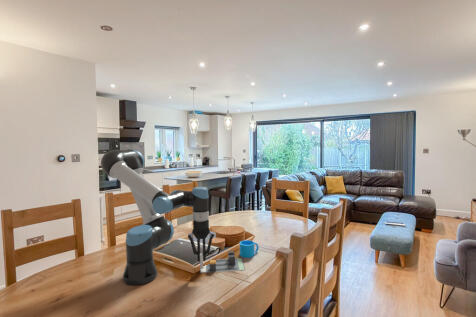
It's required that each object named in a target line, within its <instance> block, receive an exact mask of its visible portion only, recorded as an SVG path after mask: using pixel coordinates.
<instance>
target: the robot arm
mask: <svg viewBox="0 0 476 317" xmlns="http://www.w3.org/2000/svg"><path fill="white" fill-rule="evenodd" d="M144 167H145V158H144V155H143V154H142V153H141V152H140V151H138V150H136V149H113V150H109V151H106V153H105V154H103V156H102V157H101V161H100V168H101V169H102V170H103V172H104V174H106V175H108V177H110V178H112V179H116V180H118V181H119V182H121V183H122V184H124V185H125V186H127V187H128V188H129V189H130V191H131V194H132V196H133V200H134V201H135V204H136V206H137V208H138V211H139V213H140V216H141V217H142V221H143V222H142V224H139V225H136V226H133V227H130V229H128V230H127V232H126V234H125V235H126V236H125V247H126V248H125V251H126V264H125V267H124V271H123V273H122V274H123V275H122V281H123V283H124V284H126V285H130V286H140V285H145V284H149V283H150V282H152V281H154V280H155V279H156V278H157V276H158V269H157V266H156V263H155V262H154V250H156V249H157V248H159V247H161V246H163V245H165V244H167V243H168V242H169V241H170V240H172V238H173V236H174V234H175V233H174V232H175V228H174V224H173V223H172V222H171V221H170V220H168V219H166V217H165V216H164V214H168V213H170V212H173V211H175V210H177V209H180V208H183V207H187V208H188V207H190V208H192V225H193V226H192V227H193V228H192V231H191V232H190V233H188V234H187V238H188V239H189V241H190V244H191V248H192V253H193V255H197V262H199V265H200V266H199V268H200V269H203V261H206V260H207V259H206V258H207V257H206V256H207V254H210V250H211V246H212V243H213V242H212V241H213V238H214V237H215V232H212V231H211V229H210V221H209V218H210V212H209V189H208V187H207V186H206V187H205V186H197V187H196V186H195V187H193V188H192V190H180V189H178V190H176V189H175V190H173V191H171V192H170V193H168V192H165V191H164V190H163V189H161V188H159V187H158V186H157V185H155V184H154V183H152V182H151V181H149V180H148V179H146V178H145V177H144V174H143V172H144V169H145V168H144ZM208 236H209V238H208V243H207V248H206V239H207V237H208ZM194 238H195V239H196V242H197V243H196V244H197V246H196V245H195V240H194ZM201 240H202V252H201ZM196 247H197V248H196ZM200 269H199V270H200Z"/></svg>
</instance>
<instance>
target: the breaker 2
mask: <svg viewBox="0 0 476 317" xmlns="http://www.w3.org/2000/svg"><path fill="white" fill-rule="evenodd" d="M235 258H236V255H235V254H234V255H229V265H235Z"/></svg>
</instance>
